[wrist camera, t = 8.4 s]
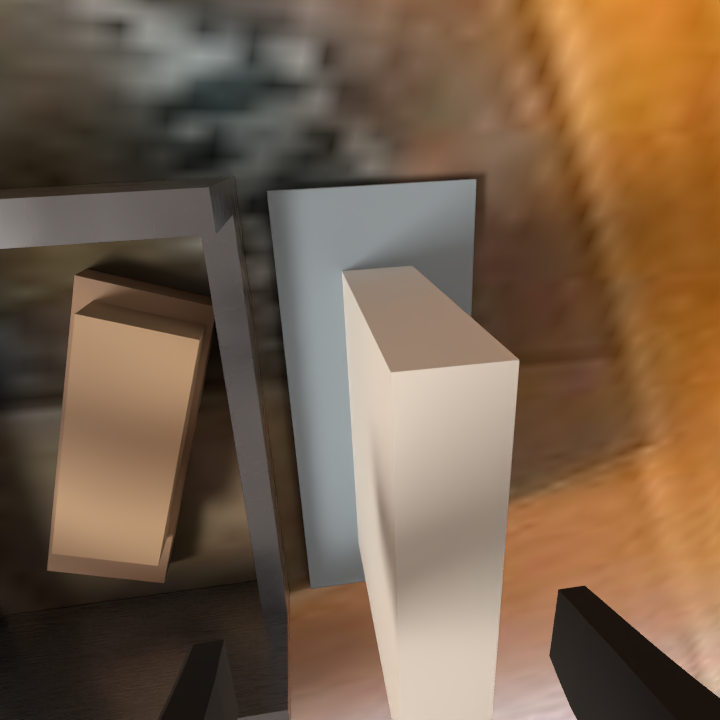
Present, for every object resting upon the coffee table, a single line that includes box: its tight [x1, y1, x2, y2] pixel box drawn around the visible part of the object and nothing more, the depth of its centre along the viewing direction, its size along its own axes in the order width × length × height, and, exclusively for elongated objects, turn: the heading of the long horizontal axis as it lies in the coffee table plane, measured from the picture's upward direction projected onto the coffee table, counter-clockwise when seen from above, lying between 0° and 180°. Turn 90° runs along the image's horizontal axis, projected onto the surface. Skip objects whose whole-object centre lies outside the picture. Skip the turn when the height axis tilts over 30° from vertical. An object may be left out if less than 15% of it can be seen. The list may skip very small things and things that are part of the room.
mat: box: [267, 179, 476, 589], centre depth 20 cm, size 17×7×1 cm, turn 2°
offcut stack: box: [47, 269, 216, 583], centre depth 18 cm, size 12×4×3 cm, turn 164°
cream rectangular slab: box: [342, 266, 519, 720], centre depth 16 cm, size 12×2×9 cm, turn 2°
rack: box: [0, 176, 291, 720], centre depth 17 cm, size 18×13×6 cm
